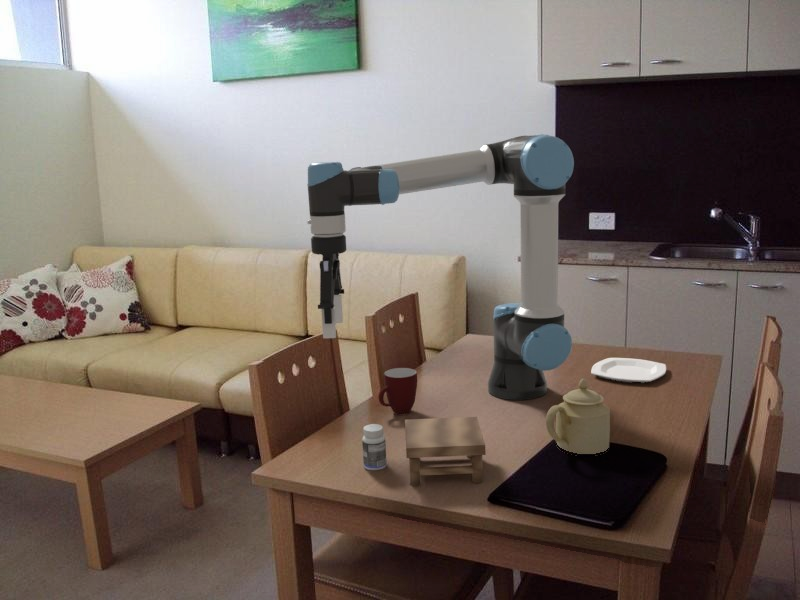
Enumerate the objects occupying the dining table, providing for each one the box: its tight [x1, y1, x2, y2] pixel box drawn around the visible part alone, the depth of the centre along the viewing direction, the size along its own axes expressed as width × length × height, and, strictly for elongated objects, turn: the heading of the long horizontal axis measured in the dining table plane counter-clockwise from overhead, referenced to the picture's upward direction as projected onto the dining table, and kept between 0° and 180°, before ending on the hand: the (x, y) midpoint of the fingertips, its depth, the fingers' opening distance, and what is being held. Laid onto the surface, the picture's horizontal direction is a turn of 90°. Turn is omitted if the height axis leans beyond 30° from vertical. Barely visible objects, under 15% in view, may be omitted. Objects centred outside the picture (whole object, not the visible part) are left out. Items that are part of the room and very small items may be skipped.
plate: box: [590, 357, 667, 384], centre depth 208 cm, size 19×19×2 cm
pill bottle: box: [361, 423, 387, 471], centre depth 155 cm, size 5×5×8 cm
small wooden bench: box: [404, 416, 487, 487], centre depth 153 cm, size 15×15×8 cm
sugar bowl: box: [545, 378, 611, 454], centre depth 159 cm, size 15×11×15 cm
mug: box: [378, 367, 418, 416], centre depth 185 cm, size 11×8×10 cm
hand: (333, 330), depth 169 cm, fingers open, 13 cm apart
